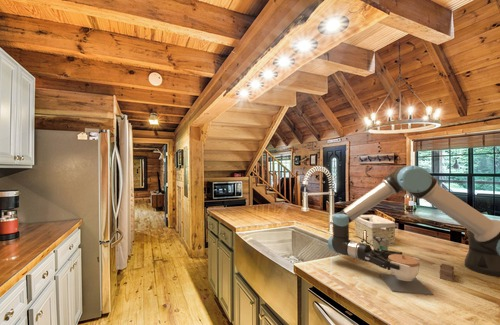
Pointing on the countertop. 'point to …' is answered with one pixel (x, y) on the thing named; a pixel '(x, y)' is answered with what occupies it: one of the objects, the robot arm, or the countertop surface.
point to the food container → (380, 243)
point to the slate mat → (405, 285)
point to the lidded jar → (406, 261)
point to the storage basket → (375, 228)
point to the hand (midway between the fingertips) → (414, 266)
